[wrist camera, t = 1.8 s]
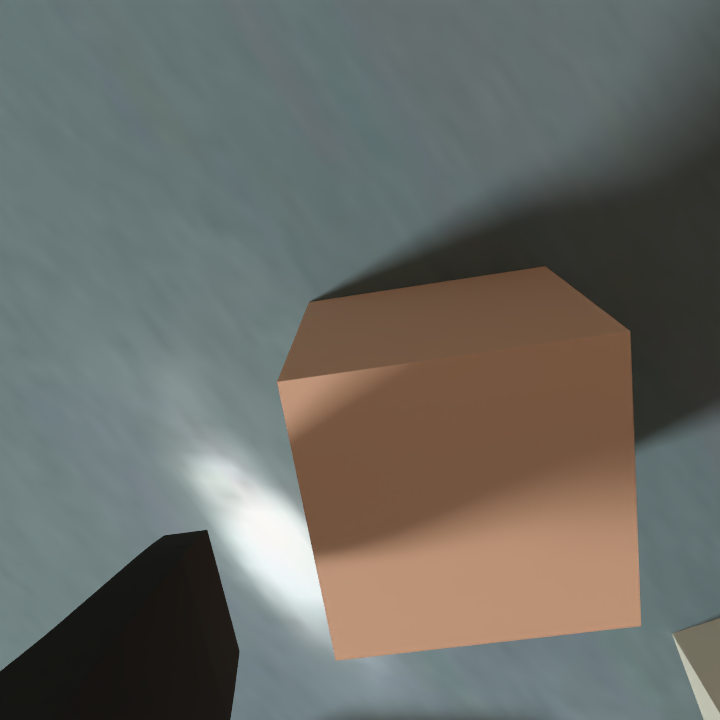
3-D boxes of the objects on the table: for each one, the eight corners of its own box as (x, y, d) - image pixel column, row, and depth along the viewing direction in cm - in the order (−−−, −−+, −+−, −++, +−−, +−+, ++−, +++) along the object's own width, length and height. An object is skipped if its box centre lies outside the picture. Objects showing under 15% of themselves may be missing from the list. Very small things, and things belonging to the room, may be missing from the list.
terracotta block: (544, 265, 14) (630, 331, 9) (560, 477, 16) (641, 625, 11) (309, 301, 14) (277, 382, 10) (347, 504, 16) (336, 660, 11)
